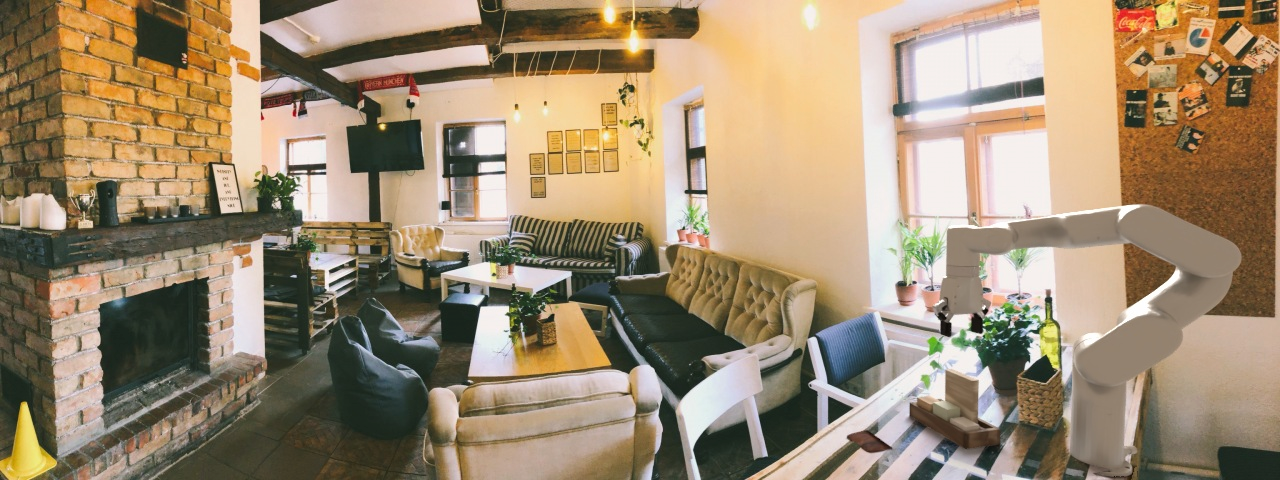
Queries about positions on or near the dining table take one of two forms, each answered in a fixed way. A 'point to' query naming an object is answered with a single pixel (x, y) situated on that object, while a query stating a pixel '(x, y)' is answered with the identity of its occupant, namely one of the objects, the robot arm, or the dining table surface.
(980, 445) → the brown wooden tray
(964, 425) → the offcut
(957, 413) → the block
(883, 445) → the wooden tablet
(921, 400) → the offcut
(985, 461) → the dining table surface
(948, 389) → the light wooden board
